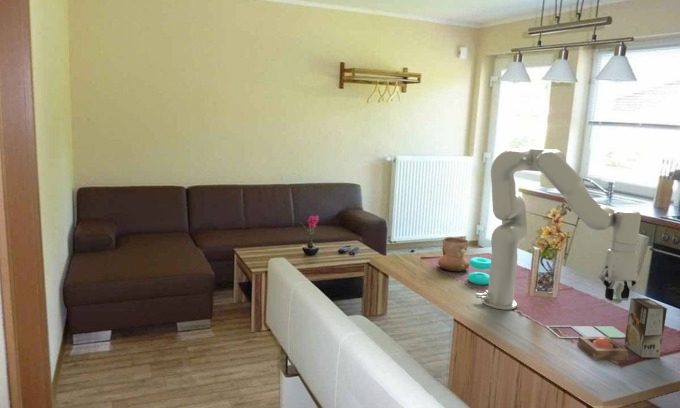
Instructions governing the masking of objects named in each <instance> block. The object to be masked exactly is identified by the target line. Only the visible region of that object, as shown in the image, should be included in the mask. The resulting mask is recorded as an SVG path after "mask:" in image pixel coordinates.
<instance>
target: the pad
mask: <svg viewBox="0 0 680 408" xmlns="http://www.w3.org/2000/svg"><path fill="white" fill-rule="evenodd" d="M593 328H595V329H596V330H597V331H599V332H600V333H602V334H603V335H604V336H606V337H609V338H611V339H625V336H626V333H624V332H622V331H620V330H619V329H618V328H616V327H615V326H611V325H609V326H608V325H606V326H603V325H602V326H599V325H597V326H596V325H594V326H593Z"/></svg>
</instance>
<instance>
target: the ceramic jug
mask: <svg viewBox="0 0 680 408" xmlns="http://www.w3.org/2000/svg"><path fill="white" fill-rule="evenodd" d="M469 244H470V241H469V240H467V239H464V238H460V237H452V236H447V237H443V238H442V256H440V257H439V258H438V260H437V264H438V265H439V267H441V269H444V270H447V271H450V272H462V271H465V270H467V269H468V268H469V266H471V265H470V263H469V261H470V260H468V259H467V258H466V257H465V253H467V249H468V247H469Z"/></svg>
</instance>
